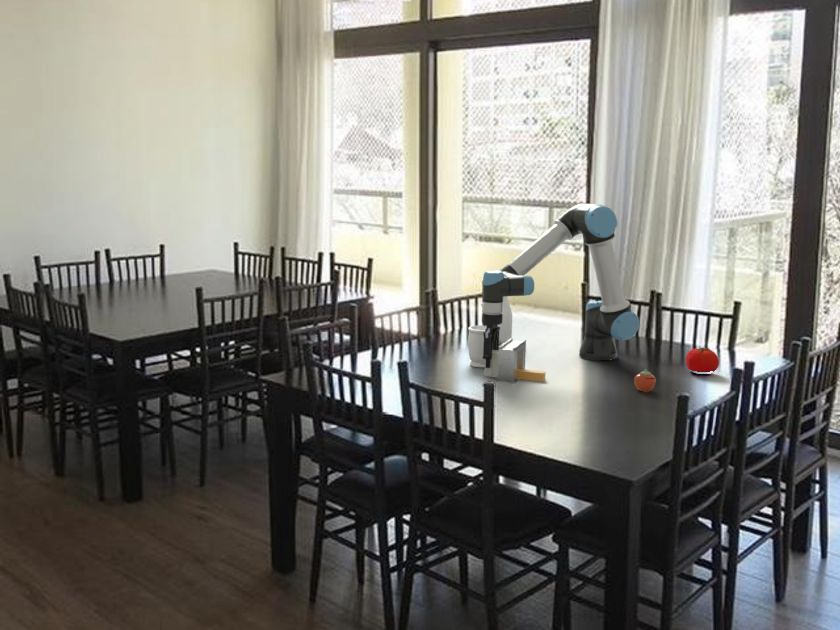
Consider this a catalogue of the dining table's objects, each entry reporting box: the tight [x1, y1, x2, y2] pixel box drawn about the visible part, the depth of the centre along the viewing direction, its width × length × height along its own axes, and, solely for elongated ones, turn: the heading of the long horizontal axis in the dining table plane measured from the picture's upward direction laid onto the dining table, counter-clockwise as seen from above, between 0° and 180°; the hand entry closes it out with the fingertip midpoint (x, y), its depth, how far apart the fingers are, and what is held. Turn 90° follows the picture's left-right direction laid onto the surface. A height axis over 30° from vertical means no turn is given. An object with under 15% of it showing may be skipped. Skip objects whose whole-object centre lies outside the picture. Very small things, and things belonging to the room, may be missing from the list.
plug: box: [480, 350, 546, 382], centre depth 323 cm, size 24×5×9 cm, turn 69°
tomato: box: [685, 345, 720, 372], centre depth 331 cm, size 11×13×10 cm
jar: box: [467, 325, 487, 369], centre depth 339 cm, size 11×10×15 cm
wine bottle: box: [498, 296, 513, 344], centre depth 381 cm, size 10×10×30 cm
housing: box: [497, 337, 527, 384], centre depth 323 cm, size 6×16×13 cm, turn 159°
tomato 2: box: [633, 368, 657, 392], centre depth 307 cm, size 7×7×8 cm
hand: (490, 373), depth 327 cm, fingers closed on plug, 5 cm apart
